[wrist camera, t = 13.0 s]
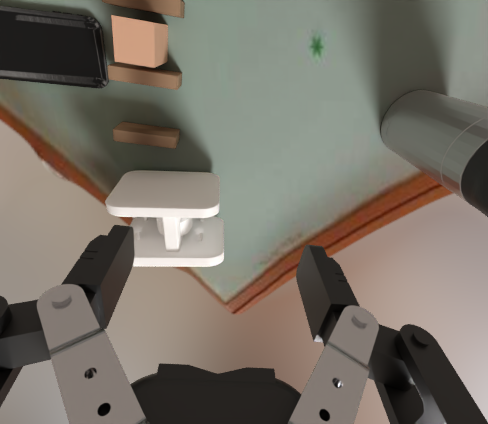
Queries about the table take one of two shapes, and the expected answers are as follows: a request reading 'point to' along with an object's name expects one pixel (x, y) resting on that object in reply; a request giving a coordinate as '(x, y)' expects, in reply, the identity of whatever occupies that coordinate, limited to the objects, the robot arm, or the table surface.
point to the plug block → (139, 42)
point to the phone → (52, 48)
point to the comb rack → (147, 80)
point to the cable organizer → (171, 217)
